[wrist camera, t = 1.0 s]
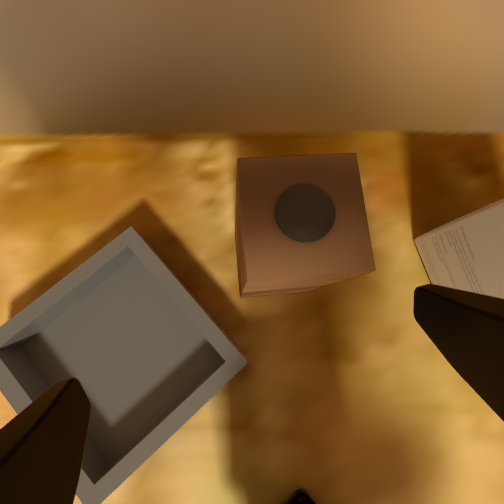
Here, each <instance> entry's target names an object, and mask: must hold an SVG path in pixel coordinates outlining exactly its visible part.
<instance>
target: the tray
mask: <svg viewBox="0 0 504 504" xmlns="http://www.w3.org/2000/svg"><path fill="white" fill-rule="evenodd" d="M247 363H248V361H247V358H246V356H245V355H244V353H243V352H242V351H241V350H240V349H239V348H238V346H237V345H236V344H235V343H234V342H233V341H232V339H231V338H230V337H229V336H228V335H227V334H226V332H225V331H224V330H223V329H222V328H221V327H220V325H219V324H218V323H217V322H216V321H215V320H214V318H213V317H212V316H211V315H210V314H209V313H208V311H207V310H206V309H205V308H204V307H203V306H202V304H201V303H200V302H199V301H198V300H197V299H196V297H195V296H194V295H193V294H192V293H191V292H190V290H189V289H188V288H187V287H186V286H185V285H184V283H183V282H182V281H181V280H180V279H179V278H178V276H177V275H176V274H175V273H174V272H173V271H172V269H171V268H170V267H169V266H168V265H167V264H166V262H165V261H164V260H163V259H162V258H161V257H160V255H159V254H158V253H157V252H156V251H155V250H154V248H153V247H152V246H151V245H150V244H149V243H148V241H147V240H146V239H145V238H144V237H143V236H142V235H141V234H140V233H139V232H137V231H136V230H135V229H134V228H133V227H132V226H130V227H129V228H128V229H126V230H125V231H124V232H122V233H121V234H120V235H119V236H117V237H116V238H115V239H113V240H112V241H111V242H109V243H108V244H107V245H106V246H104V247H103V248H102V249H100V250H99V251H98V252H96V253H95V254H94V255H93V256H91V257H90V258H89V259H87V260H86V261H85V262H84V263H82V264H81V265H80V266H78V267H77V268H76V269H74V270H73V271H72V272H71V273H69V274H68V275H67V276H65V277H64V278H63V279H62V280H60V281H59V282H58V283H56V284H55V285H54V286H52V287H51V288H50V289H49V290H47V291H46V292H45V293H43V294H42V295H41V296H40V297H38V298H37V299H36V300H34V301H33V302H32V303H30V304H29V305H28V306H27V307H25V308H24V309H23V310H21V311H20V312H19V313H17V314H16V315H15V316H14V317H12V318H11V319H10V320H8V321H7V322H6V323H5V324H3V325H2V326H1V327H0V391H1V392H2V393H3V395H4V396H5V397H6V399H7V400H8V402H9V403H10V404H11V406H12V407H13V408H14V410H15V411H16V413H17V414H19V413H20V412H21V411H23V410H24V409H25V408H26V407H27V406H29V405H30V404H31V403H32V402H33V401H34V400H36V399H37V398H38V397H39V396H40V395H42V394H43V393H44V392H45V391H46V390H47V389H49V388H50V387H51V386H52V385H53V384H54V383H56V382H58V381H60V380H64V379H68V378H72V377H74V378H77V379H78V380H79V381H80V383H81V385H82V387H83V389H84V391H85V393H86V395H87V397H88V399H89V401H90V405H91V413H90V419H89V425H88V431H87V437H86V443H85V449H84V455H83V461H82V467H81V472H80V478H79V482H78V486H77V490H76V495H77V496H78V497H79V499H80V500H81V502H82V503H83V504H101V503H102V502H103V501H104V500H105V499H106V498H107V497H108V496H109V495H110V494H111V493H112V492H113V491H114V490H115V489H116V488H117V487H118V486H120V485H121V484H122V483H123V482H124V481H125V480H126V479H127V478H128V477H129V476H130V475H131V474H132V473H133V472H134V471H135V470H136V469H137V468H138V467H139V466H140V465H142V464H143V463H144V462H145V461H146V460H147V459H148V458H149V457H150V456H151V455H152V454H153V453H154V452H155V451H156V450H157V449H158V448H159V447H160V446H161V445H163V444H164V443H165V442H166V441H167V440H168V439H169V438H170V437H171V436H172V435H173V434H174V433H175V432H176V431H177V430H178V429H179V428H180V427H181V426H182V425H183V424H185V423H186V422H187V421H188V420H189V419H190V418H191V417H192V416H193V415H194V414H195V413H196V412H197V411H198V410H199V409H200V408H201V407H202V406H203V405H204V404H206V403H207V402H208V401H209V400H210V399H211V398H212V397H213V396H214V395H215V394H216V393H217V392H218V391H219V390H220V389H221V388H222V387H223V386H224V385H225V384H227V383H228V382H229V381H230V380H231V379H232V378H233V377H234V376H235V375H236V374H237V373H238V372H239V371H240V370H241V369H242V368H243V367H244V366H245V365H246V364H247Z"/></svg>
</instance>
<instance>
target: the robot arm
mask: <svg viewBox="0 0 504 504" xmlns="http://www.w3.org/2000/svg"><path fill="white" fill-rule="evenodd" d="M414 317H415V319H416V321H417V323H418V324H419V325H420V326H421V328H422V329H423V330H424V331H425V333H426V334H427V335H428V337H429V338H430V339H431V340H432V342H433V343H434V344H435V345H436V347H437V348H438V349H439V351H440V352H441V353H442V354H443V356H444V357H445V358H446V360H447V361H448V362H449V363H450V364H451V366H452V367H453V368H454V369H455V370H456V371H457V372H458V373H459V375H460V376H461V377H462V378H463V379H464V380H465V381H466V382H467V383H468V384H469V385H470V386H471V387H472V388H473V389H474V391H475V392H476V393H477V394H478V395H479V396H480V397H481V398H482V399H483V400H484V401H485V402H486V403H487V404H488V405H489V406H490V407H491V408H492V410H493V411H494V412H495V413H496V414H497V415H498V416H499V417H500V418H501V419H502V420H503V421H504V299H502V298H498V297H493V296H488V295H483V294H478V293H474V292H469V291H464V290H459V289H454V288H449V287H445V286H440V285H435V284H427V285H423V286H419V287H417V288H416V289H415V291H414ZM90 413H91V405H90V401H89V399H88V397H87V395H86V393H85V391H84V389H83V387H82V385H81V383H80V381H79V380H78V379H77V378H74V377H72V378H68V379H64V380H60V381H58V382H56V383H54V384H53V385H52V386H51V387H50V388H49V389H47V390H46V391H45V392H44V393H43V394H42V395H40V396H39V397H38V398H37V399H36V400H34V401H33V402H32V403H31V404H30V405H29V406H27V407H26V408H25V409H24V410H23V411H21V412H20V413H19V414H18V415H17V416H16V417H14V418H13V419H12V420H11V421H10V422H9V423H7V424H6V425H5V426H4V427H3V428H1V429H0V504H73V501H74V497H75V494H76V490H77V486H78V482H79V478H80V472H81V467H82V461H83V455H84V449H85V443H86V437H87V431H88V425H89V419H90ZM301 496H304V497H305V499H304V501H299V498H300V497H301ZM285 504H317V503H316V502H315V501H314V500H313V498H312V497H311V496H310V495H309V494H308V492H307V491H306V490H304V489H298V490H297V491H296V492H295V493H294V494H293V495H292V496H291V497H290V498H289V500H288V501H287V502H286V503H285Z"/></svg>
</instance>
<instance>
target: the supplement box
mask: <svg viewBox="0 0 504 504" xmlns="http://www.w3.org/2000/svg"><path fill="white" fill-rule="evenodd" d="M414 242H415V244H416V247H417V249H418V251H419V254H420V256H421V259H422V261H423V264H424V266H425V268H426V271H427V273H428V276H429V278H430V281H431V283H432V284H435V285H440V286H445V287H449V288H454V289H459V290H464V291H469V292H474V293H478V294H483V295H488V296H493V297H498V298H502V299H504V198H503V199H501V200H498V201H496V202H494V203H492V204H489V205H487V206H485V207H482V208H480V209H478V210H476V211H473V212H471V213H469V214H467V215H464V216H462V217H460V218H457V219H455V220H453V221H451V222H449V223H446V224H444V225H442V226H440V227H438V228H436V229H433V230H431V231H429V232H427V233H425V234H422V235H420V236H418V237H417V238H415V239H414Z"/></svg>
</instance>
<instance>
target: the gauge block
mask: <svg viewBox="0 0 504 504" xmlns="http://www.w3.org/2000/svg"><path fill="white" fill-rule="evenodd" d="M235 239H236V252H237V265H238V278H239V291H240V298H242V297H254V296H266V295H278V294H290V293H302V292H307V291H310V290H313V289H317V288H320V287H323V286H326V285H330V284H333V283H336V282H339V281H343V280H346V279H349V278H352V277H356V276H359V275H362V274H365V273H369V272H372V271H375V264H374V258H373V252H372V246H371V240H370V234H369V228H368V222H367V216H366V210H365V204H364V198H363V192H362V186H361V180H360V174H359V168H358V162H357V156H356V153H340V154H319V155H298V156H276V157H255V158H237V185H236V222H235Z"/></svg>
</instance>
